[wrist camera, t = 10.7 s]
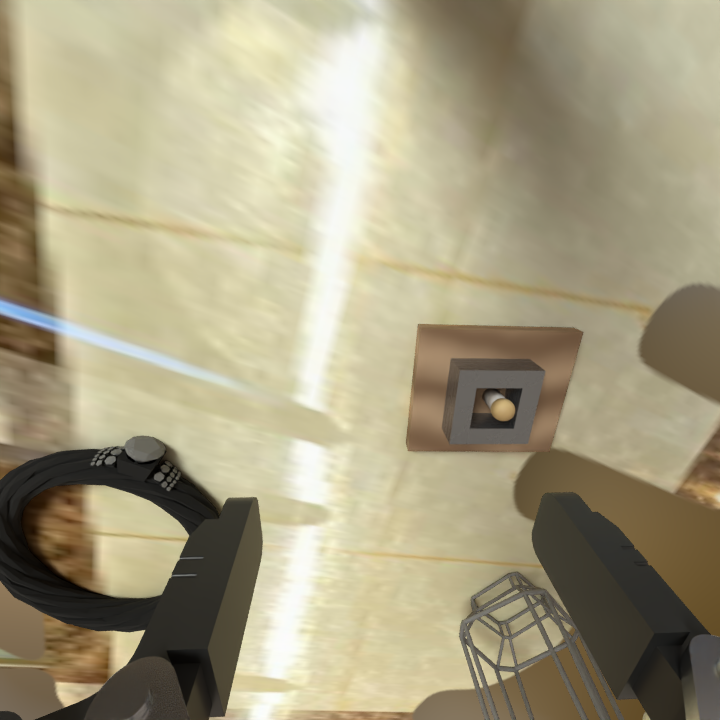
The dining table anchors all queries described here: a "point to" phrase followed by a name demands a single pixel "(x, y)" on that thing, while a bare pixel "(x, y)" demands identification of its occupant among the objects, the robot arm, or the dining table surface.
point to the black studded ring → (91, 467)
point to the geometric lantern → (552, 651)
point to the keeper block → (493, 342)
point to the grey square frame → (491, 373)
